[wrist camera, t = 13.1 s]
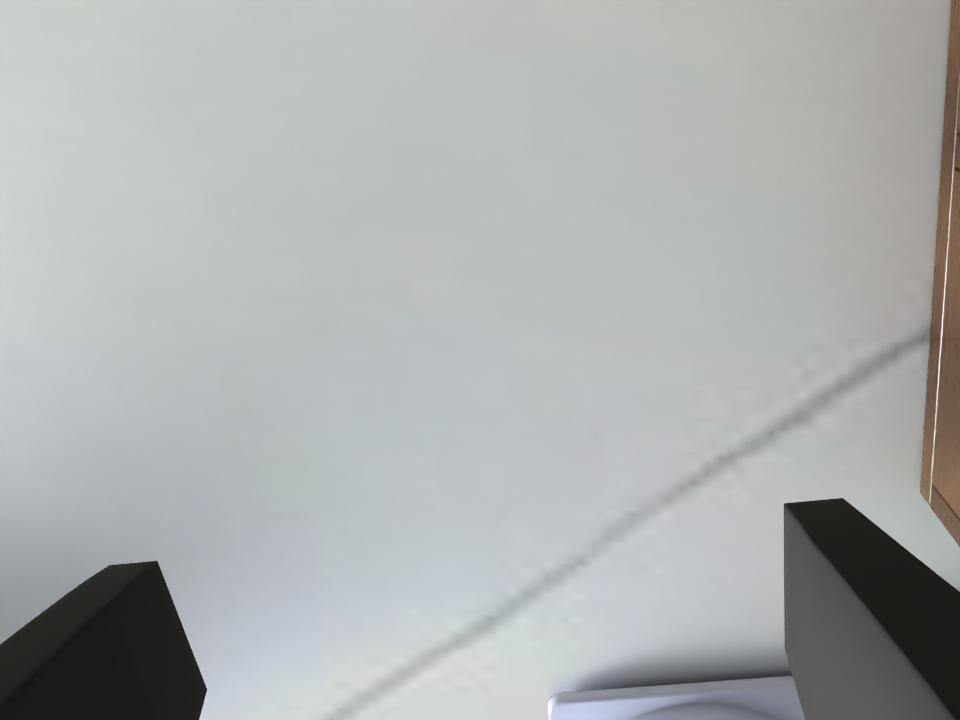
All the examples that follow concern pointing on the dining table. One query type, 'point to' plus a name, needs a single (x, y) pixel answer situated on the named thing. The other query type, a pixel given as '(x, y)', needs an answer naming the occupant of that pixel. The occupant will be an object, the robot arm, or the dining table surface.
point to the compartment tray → (946, 317)
